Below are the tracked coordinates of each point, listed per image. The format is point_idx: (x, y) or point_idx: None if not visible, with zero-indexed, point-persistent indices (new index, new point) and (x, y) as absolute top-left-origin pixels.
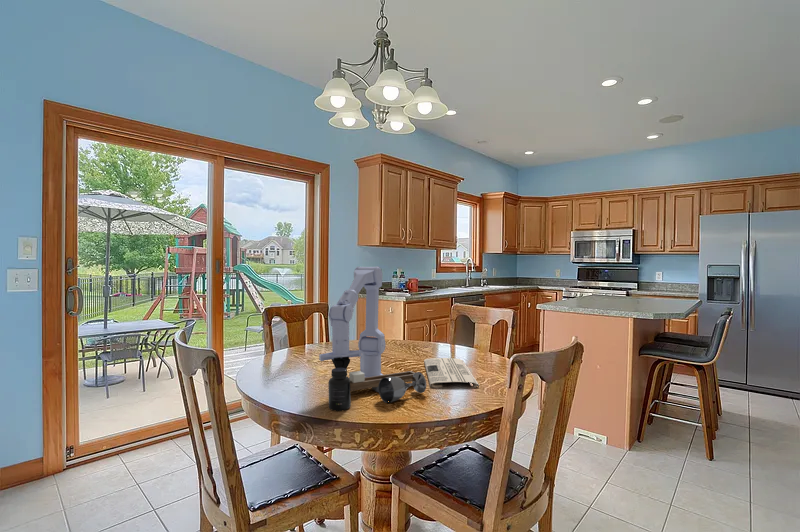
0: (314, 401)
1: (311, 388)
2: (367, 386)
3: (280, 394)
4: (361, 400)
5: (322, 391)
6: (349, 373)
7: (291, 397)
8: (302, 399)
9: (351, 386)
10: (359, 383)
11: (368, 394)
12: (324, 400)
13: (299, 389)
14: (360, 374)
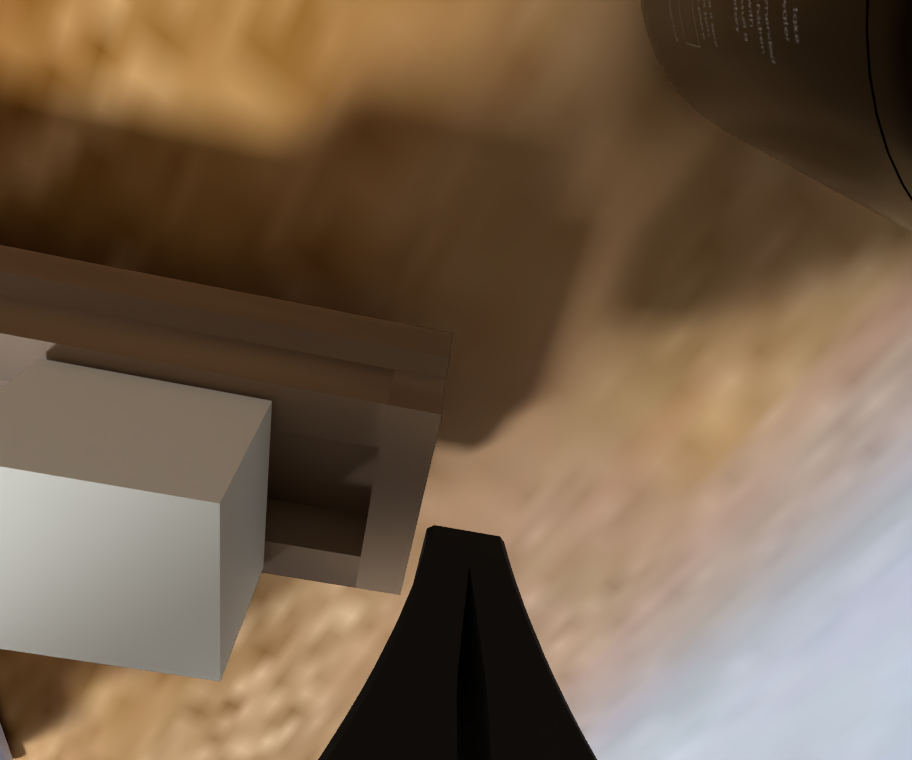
0: (847, 415)
1: (579, 704)
2: (45, 270)
3: (885, 724)
4: (322, 14)
5: (551, 604)
6: (227, 653)
7: (893, 631)
8: (876, 537)
9: (337, 365)
10: (166, 355)
11: (105, 204)
12: (739, 373)
13: (676, 732)
14: (41, 469)
